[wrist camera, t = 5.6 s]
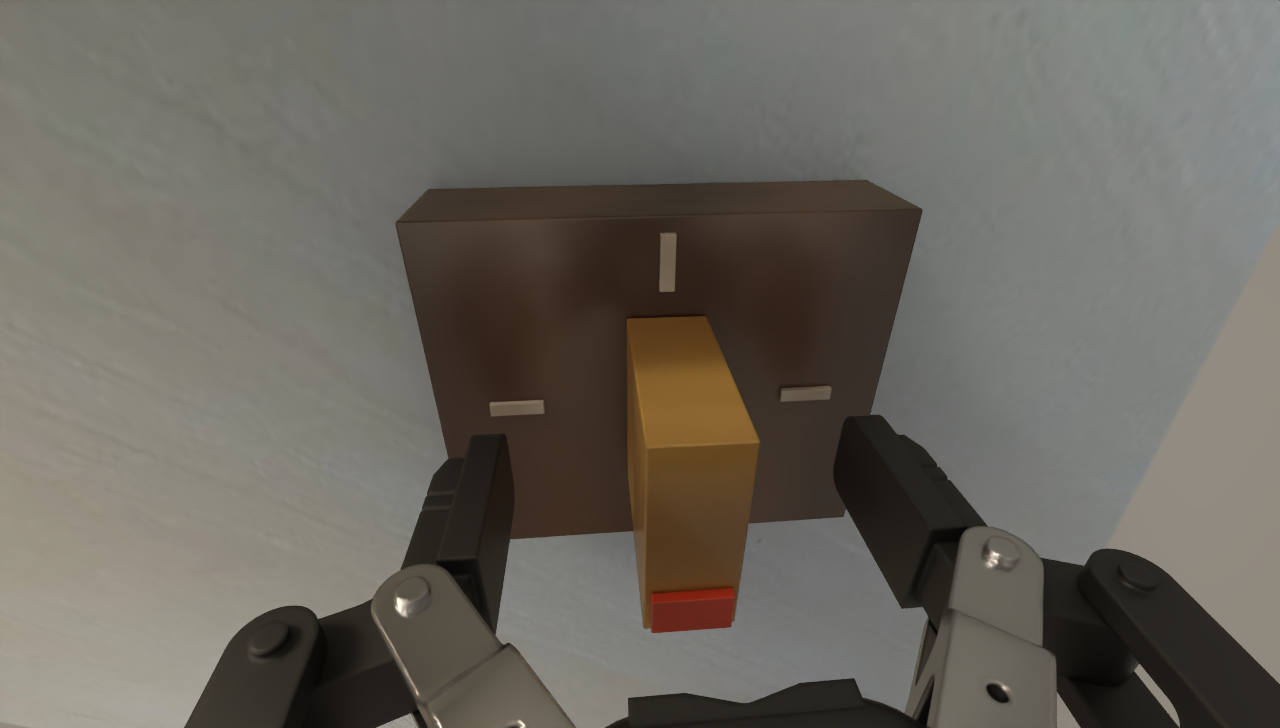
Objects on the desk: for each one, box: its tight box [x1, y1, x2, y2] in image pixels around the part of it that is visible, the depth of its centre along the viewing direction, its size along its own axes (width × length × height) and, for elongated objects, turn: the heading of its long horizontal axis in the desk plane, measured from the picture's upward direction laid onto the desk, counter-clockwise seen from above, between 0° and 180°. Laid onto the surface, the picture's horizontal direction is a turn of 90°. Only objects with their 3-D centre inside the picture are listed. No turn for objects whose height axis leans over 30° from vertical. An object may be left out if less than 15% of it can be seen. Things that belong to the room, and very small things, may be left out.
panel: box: [395, 180, 922, 539], centre depth 16 cm, size 12×10×3 cm
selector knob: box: [626, 316, 760, 633], centre depth 13 cm, size 5×2×5 cm, turn 0°
